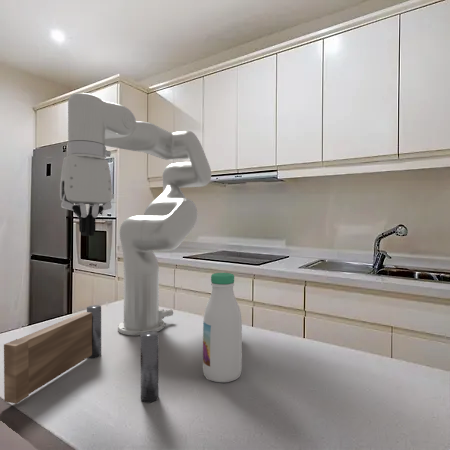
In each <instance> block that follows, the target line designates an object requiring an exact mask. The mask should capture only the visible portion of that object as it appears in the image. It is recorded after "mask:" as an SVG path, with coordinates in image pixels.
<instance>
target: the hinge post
mask: <svg viewBox="0 0 450 450" xmlns="http://www.w3.org/2000/svg"><path fill="white" fill-rule="evenodd" d="M86 312H91V313H92V355H91V356H90V357H88V358H87V359H98V358H100V357H102V305H99V304H96V305H95V304H94V305H89V306H86Z"/></svg>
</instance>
